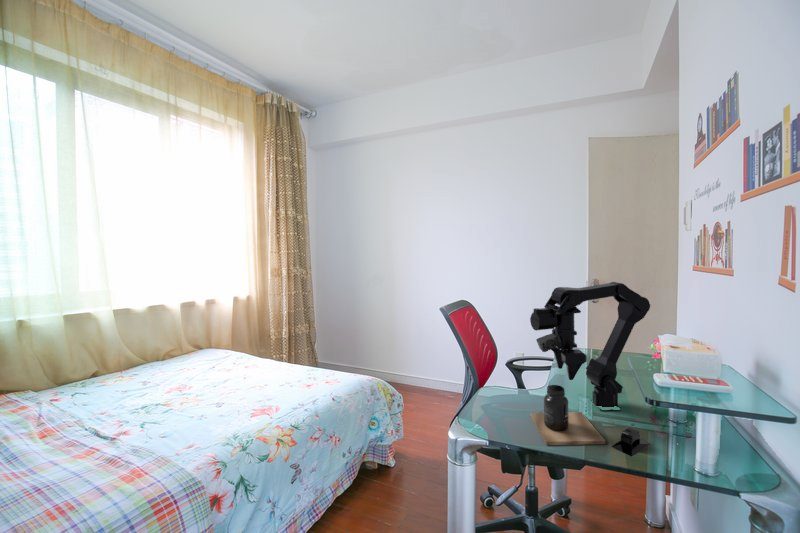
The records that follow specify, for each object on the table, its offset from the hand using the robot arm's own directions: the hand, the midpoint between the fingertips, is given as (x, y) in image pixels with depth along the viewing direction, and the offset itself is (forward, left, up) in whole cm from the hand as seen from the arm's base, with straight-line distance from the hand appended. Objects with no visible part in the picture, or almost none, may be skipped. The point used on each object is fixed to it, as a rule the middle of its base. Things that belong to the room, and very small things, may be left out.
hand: (565, 373), depth 120 cm
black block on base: (-10, +19, -14) cm, 26 cm away
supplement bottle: (+6, +10, -12) cm, 17 cm away
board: (+4, +10, -13) cm, 17 cm away
